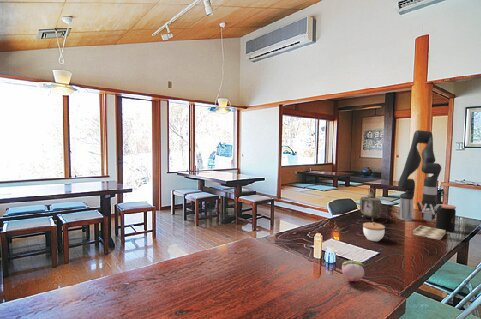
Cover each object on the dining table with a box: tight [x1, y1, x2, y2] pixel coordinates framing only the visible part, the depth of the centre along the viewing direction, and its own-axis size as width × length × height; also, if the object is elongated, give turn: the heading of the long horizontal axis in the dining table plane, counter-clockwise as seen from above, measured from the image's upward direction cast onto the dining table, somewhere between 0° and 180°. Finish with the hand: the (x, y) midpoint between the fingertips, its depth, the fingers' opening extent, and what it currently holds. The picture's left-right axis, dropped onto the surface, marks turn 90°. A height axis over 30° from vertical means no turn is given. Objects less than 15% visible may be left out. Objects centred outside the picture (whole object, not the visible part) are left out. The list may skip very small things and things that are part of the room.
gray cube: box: [422, 210, 433, 222], centre depth 181 cm, size 4×4×5 cm
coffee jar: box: [435, 203, 457, 233], centre depth 194 cm, size 11×11×18 cm
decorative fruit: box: [341, 259, 365, 282], centre depth 121 cm, size 9×8×10 cm
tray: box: [412, 225, 447, 241], centre depth 185 cm, size 15×18×3 cm
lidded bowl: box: [362, 221, 386, 242], centre depth 175 cm, size 13×13×11 cm
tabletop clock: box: [359, 188, 382, 222], centre depth 222 cm, size 14×9×25 cm, turn 17°
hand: (428, 218), depth 181 cm, fingers closed on gray cube, 4 cm apart
